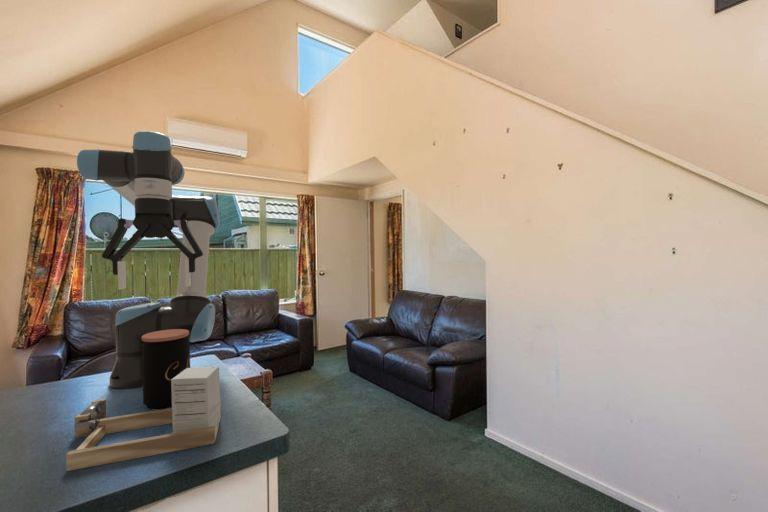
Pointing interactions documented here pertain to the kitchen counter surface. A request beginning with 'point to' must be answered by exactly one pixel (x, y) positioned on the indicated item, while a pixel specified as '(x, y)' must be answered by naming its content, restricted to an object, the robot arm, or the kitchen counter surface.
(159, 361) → the coffee jar
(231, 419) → the kitchen counter surface
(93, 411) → the winch
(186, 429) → the supplement box
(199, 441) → the bay
